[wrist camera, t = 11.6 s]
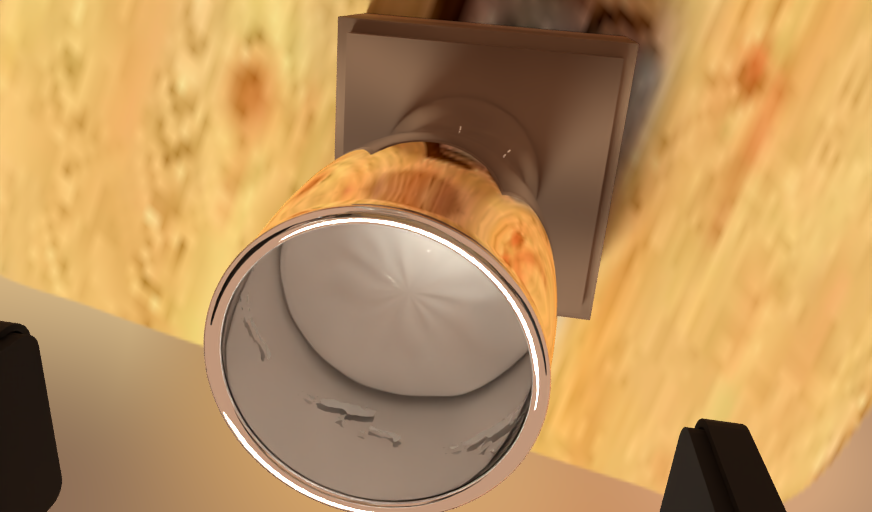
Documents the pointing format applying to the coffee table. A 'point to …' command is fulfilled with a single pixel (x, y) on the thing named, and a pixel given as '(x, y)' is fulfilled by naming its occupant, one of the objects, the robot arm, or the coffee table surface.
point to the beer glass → (395, 319)
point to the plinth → (515, 94)
